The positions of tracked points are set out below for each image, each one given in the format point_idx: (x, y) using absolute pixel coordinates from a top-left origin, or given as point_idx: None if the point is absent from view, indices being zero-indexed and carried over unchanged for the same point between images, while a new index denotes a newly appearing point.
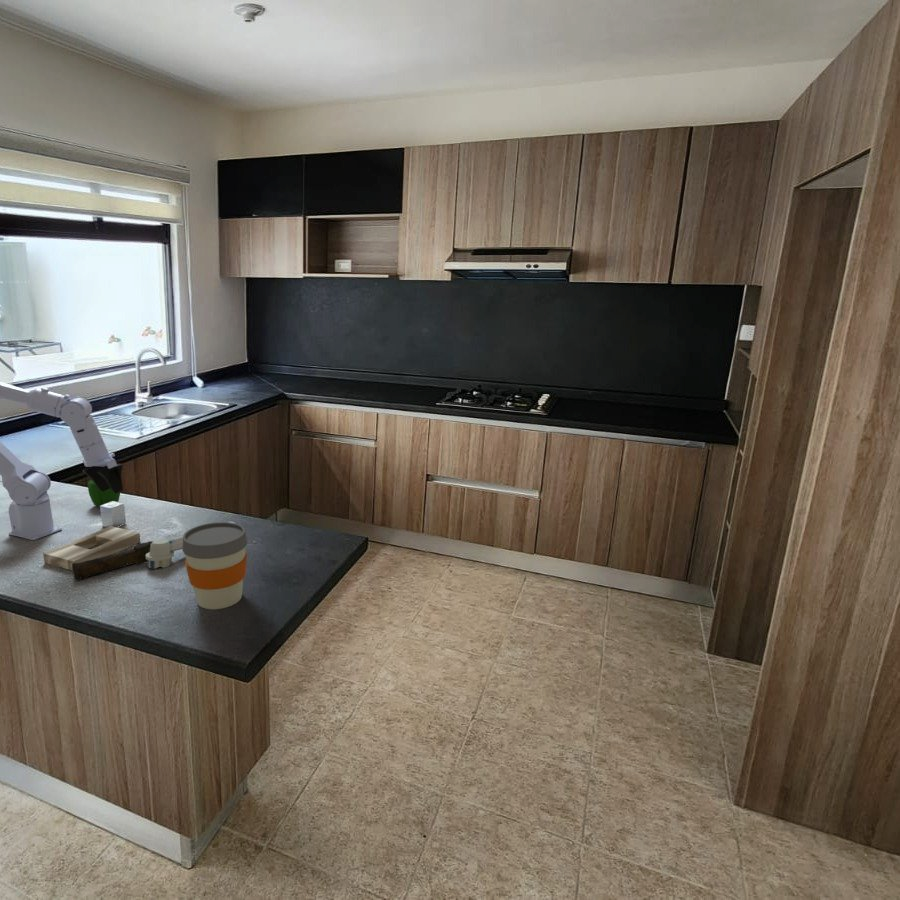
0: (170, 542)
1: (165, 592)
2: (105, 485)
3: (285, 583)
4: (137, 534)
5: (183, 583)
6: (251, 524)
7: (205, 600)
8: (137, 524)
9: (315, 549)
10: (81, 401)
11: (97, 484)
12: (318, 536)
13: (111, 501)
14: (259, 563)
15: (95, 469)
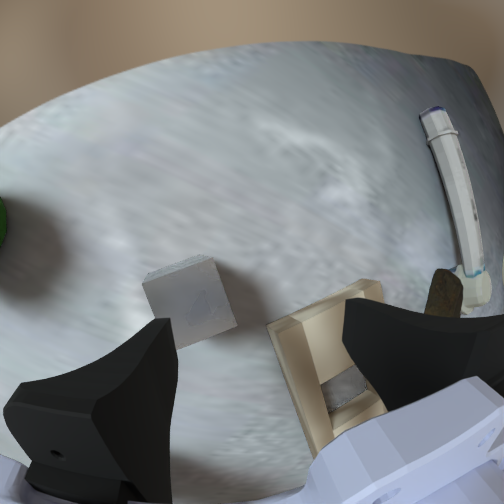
0: (484, 268)
1: (487, 310)
2: (169, 350)
3: None
4: (379, 287)
5: None
6: (401, 70)
7: None
8: (233, 228)
9: (484, 114)
10: None
11: (172, 404)
12: (462, 78)
13: (3, 225)
14: (491, 182)
15: (150, 476)
